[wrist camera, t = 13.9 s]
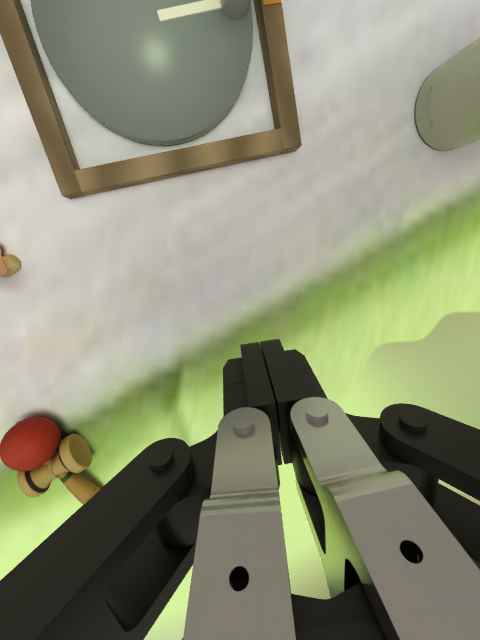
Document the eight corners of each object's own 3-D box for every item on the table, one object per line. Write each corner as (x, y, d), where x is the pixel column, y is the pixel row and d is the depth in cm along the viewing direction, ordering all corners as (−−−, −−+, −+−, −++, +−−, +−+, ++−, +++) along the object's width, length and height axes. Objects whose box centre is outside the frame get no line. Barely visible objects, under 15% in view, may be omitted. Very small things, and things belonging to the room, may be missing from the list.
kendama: (138, 477, 43) (53, 397, 35) (126, 522, 37) (21, 439, 29) (97, 493, 44) (5, 419, 36) (78, 539, 38) (-35, 464, 30)
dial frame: (248, -166, 25) (253, -203, 23) (295, 150, 33) (302, 144, 31) (-54, -134, 23) (-79, -172, 21) (70, 198, 31) (61, 195, 28)
